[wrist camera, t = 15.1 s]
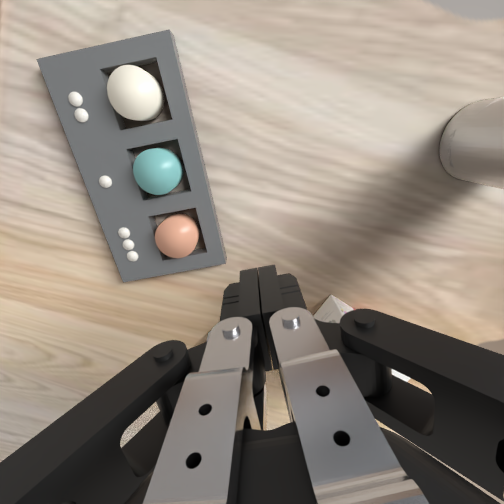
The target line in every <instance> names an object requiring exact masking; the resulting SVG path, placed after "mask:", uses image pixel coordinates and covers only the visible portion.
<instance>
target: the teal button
mask: <svg viewBox="0 0 504 504" xmlns="http://www.w3.org/2000/svg"><path fill="white" fill-rule="evenodd" d="M183 173H184V170H183V164H182V162H181V160H180V158H179V157H178V156H177V155H176V154H175V153H174V152H173V151H171V150H169V149H166V148H153V149H148V150H145V151H143V152H141V153H140V154H139V155H138V156H137V158H136V159H135V162H134V165H133V174H134V177H135V180H136V182H137V183H138V185H139V186H140V187H141V188H142V189H143V190H145V191H146V192H148V193H151V194H154V195H163V194H166V193H168V192H170V191H171V190H172V189H174V188H175V187H176V186H178V184H179V183H180V182H181V180H182V178H183Z"/></svg>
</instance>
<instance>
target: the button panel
mask: <svg viewBox="0 0 504 504" xmlns="http://www.w3.org/2000/svg"><path fill="white" fill-rule="evenodd" d="M37 62H38V64H39V67H40V69H41V72H42V75H43V77H44V80H45V82H46V85H47V87H48V90H49V93H50V95H51V98H52V100H53V103H54V105H55V108H56V111H57V113H58V116H59V118H60V121H61V124H62V126H63V129H64V131H65V134H66V136H67V139H68V142H69V144H70V147H71V149H72V152H73V154H74V157H75V160H76V162H77V165H78V167H79V170H80V172H81V175H82V178H83V180H84V183H85V185H86V188H87V190H88V193H89V196H90V198H91V201H92V203H93V206H94V208H95V211H96V214H97V216H98V219H99V221H100V224H101V226H102V229H103V232H104V234H105V237H106V239H107V242H108V244H109V247H110V250H111V252H112V255H113V257H114V260H115V262H116V265H117V268H118V270H119V273H120V275H121V278H122V280H123V282H128V281H134V280H139V279H145V278H150V277H156V276H161V275H167V274H172V273H177V272H183V271H188V270H194V269H199V268H205V267H210V266H216V265H221V264H226V260H227V257H226V253H225V248H224V244H223V240H222V236H221V232H220V227H219V223H218V219H217V215H216V211H215V206H214V202H213V198H212V194H211V190H210V185H209V181H208V177H207V173H206V169H205V164H204V160H203V156H202V152H201V148H200V143H199V139H198V135H197V131H196V127H195V122H194V118H193V114H192V110H191V106H190V101H189V97H188V93H187V89H186V85H185V81H184V76H183V72H182V68H181V64H180V60H179V55H178V51H177V47H176V43H175V39H174V35H173V34H172V32H171V31H170V30H165V31H161V32H156V33H152V34H147V35H143V36H138V37H134V38H130V39H125V40H121V41H116V42H112V43H107V44H103V45H98V46H94V47H89V48H85V49H80V50H76V51H71V52H67V53H62V54H58V55H53V56H49V57H44V58H40V59H37ZM155 62H158V66H159V70H160V74H161V77H162V81H163V85H164V89H165V93H166V97H167V100H168V104H169V108H170V112H171V116H172V119H173V120H168V121H163V122H158V123H154V124H149V125H144V126H139V127H134V128H130V129H126V127H125V124H124V121H123V118H122V115H120V114H119V113H118V112H117V111H116V110H115V109H114V108H113V106H112V105H111V103H110V100H109V98H108V93H107V84H108V80H109V74H108V73H109V72H113V71H114V70H115V69H117V68H118V67H120V66H123V65H134V66H141V65H146V64H151V63H155ZM176 139H178V142H179V146H180V150H181V154H182V158H183V161H184V165H185V169H186V173H187V177H188V180H189V184H190V188H191V189H189V190H184V191H179V192H174V193H169V194H164V195H159V196H153V197H148V196H147V193H146V191H145V190H143V189H142V188H141V187H140V186H139V185H138V183H137V182H136V180H135V177H134V174H133V165H134V162H135V155H134V152H133V149H132V148H137V147H142V146H146V145H151V144H156V143H161V142H166V141H171V140H176ZM191 208H196V211H197V215H198V219H199V222H200V226H201V230H202V234H203V238H204V241H205V245H206V248H201V249H196V250H193V251H192V253H191V254H189V255H188V256H186V257H183V258H172V257H169V256H167V255H165V254H164V253H162V252H161V251H160V250H159V248H158V247H157V245H156V242H155V232H156V230H157V225H156V222H155V218H154V215H160V214H165V213H170V212H175V211H180V210H186V209H191Z"/></svg>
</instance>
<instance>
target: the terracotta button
mask: <svg viewBox="0 0 504 504" xmlns="http://www.w3.org/2000/svg"><path fill="white" fill-rule="evenodd" d="M199 237H200V229H199V226H198V223H197V222H196V221H195V219H193V218H192V217H191V216H189V215H187V214H184V213H174V214H171V215H169V216H168V217H167V218H166V219H165V220H164V221H163V222H162V223H161V224H160V225H159V226H158V228H157V230H156V232H155V242H156V245H157V247H158V248H159V250H160V251H161V252H162V253H164V254H165V255H167V256H169V257H172V258H183V257H186V256H188V255H189V254H191V253H192V251H193V250H194V248H195V246H196V244H197V242H198V240H199Z"/></svg>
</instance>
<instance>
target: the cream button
mask: <svg viewBox="0 0 504 504" xmlns="http://www.w3.org/2000/svg"><path fill="white" fill-rule="evenodd" d="M107 93H108V98H109V100H110V103H111V105H112V106H113V108H114V109H115V110H116V111H117V112H118V113H119V114H120V115H122V116H123V117H125V118H127V119H131V120H138V121H149V120H152V119H154V118H156V117H157V116H158V115H159V114H160V113H161V111H162V109H163V106H164V92H163V89H162V87H161V85H160V83H159V82H158V80H157V79H156V78H155V77H154V76H152V75H151V74H149V73H148V72H146V71H144V70H143V69H141V68H139V67H137V66H134V65H123V66H120V67H118V68H117V69H115V70H114V71H113V72H112V74H111V75H110V77H109V80H108V84H107Z"/></svg>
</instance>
